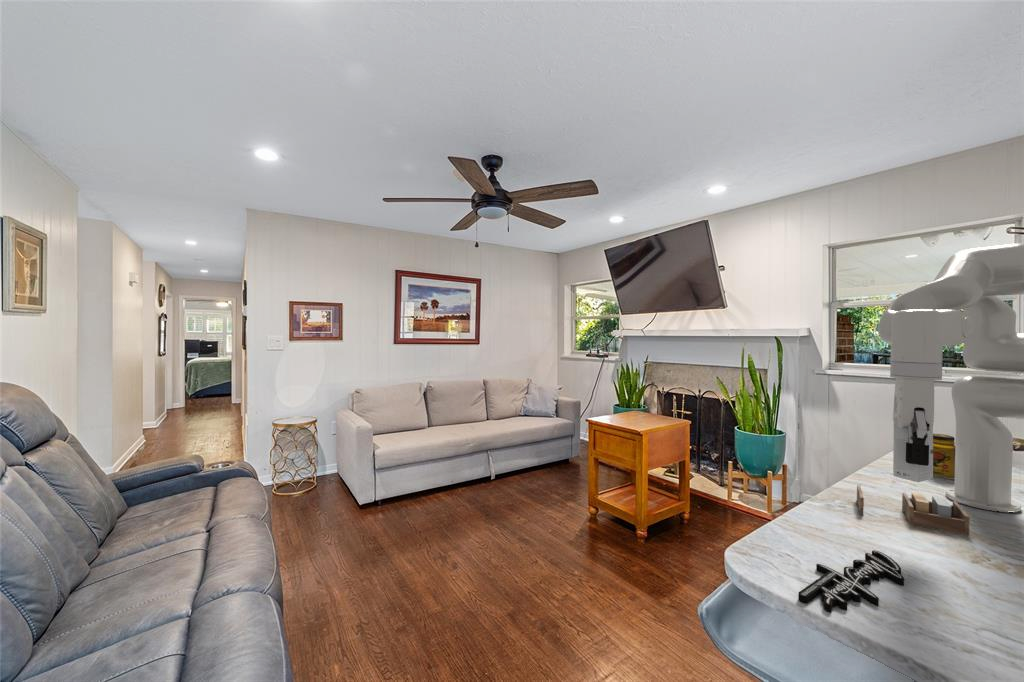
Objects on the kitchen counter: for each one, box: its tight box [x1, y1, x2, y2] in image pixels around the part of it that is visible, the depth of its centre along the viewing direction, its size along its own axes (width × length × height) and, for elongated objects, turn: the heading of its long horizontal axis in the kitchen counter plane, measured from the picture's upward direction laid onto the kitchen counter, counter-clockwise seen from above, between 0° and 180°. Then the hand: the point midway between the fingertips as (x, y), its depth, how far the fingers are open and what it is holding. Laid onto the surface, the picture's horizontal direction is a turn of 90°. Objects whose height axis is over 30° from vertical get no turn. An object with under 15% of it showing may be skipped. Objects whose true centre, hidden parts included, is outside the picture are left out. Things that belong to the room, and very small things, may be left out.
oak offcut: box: [910, 492, 929, 513], centre depth 96 cm, size 6×2×5 cm, turn 144°
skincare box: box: [892, 416, 934, 483], centre depth 85 cm, size 6×4×12 cm
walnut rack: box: [856, 484, 970, 537], centre depth 97 cm, size 10×18×4 cm, turn 54°
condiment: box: [933, 433, 956, 480], centre depth 127 cm, size 7×8×12 cm
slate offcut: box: [931, 495, 951, 517], centre depth 94 cm, size 6×2×5 cm, turn 144°
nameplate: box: [797, 550, 905, 613], centre depth 72 cm, size 28×2×10 cm
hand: (913, 458), depth 85 cm, fingers closed on skincare box, 7 cm apart
